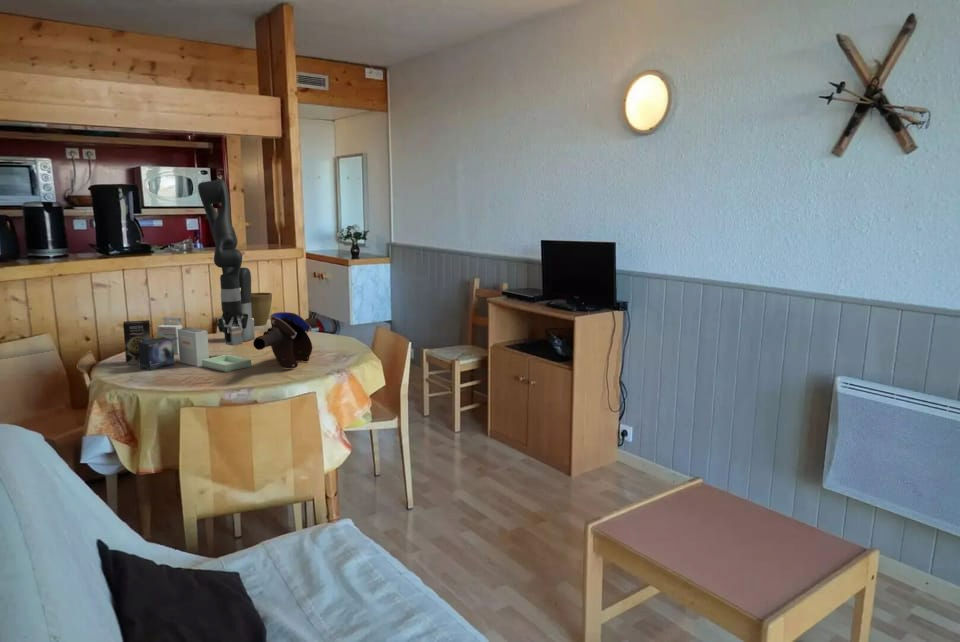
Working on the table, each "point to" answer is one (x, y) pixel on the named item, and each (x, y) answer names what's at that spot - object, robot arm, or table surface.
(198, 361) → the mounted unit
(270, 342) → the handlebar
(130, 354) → the coffee box
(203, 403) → the table surface
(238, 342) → the module
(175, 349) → the ink cartridge box
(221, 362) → the tray
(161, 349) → the small box
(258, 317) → the plant pot
